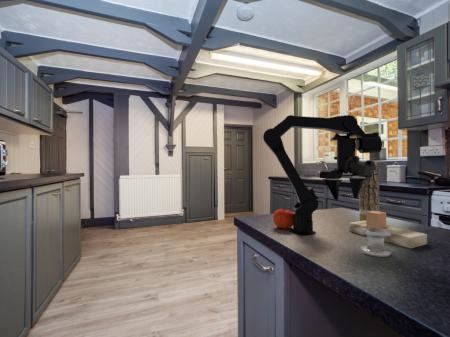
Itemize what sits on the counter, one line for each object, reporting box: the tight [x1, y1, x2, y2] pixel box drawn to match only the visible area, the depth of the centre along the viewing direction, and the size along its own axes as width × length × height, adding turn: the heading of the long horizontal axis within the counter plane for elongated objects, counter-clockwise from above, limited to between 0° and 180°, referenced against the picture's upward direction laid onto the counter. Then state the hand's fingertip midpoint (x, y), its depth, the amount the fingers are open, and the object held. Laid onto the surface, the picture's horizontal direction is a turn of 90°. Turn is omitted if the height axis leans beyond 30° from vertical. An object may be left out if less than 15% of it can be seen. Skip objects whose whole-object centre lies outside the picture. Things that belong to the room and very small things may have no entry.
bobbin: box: [360, 227, 392, 258], centre depth 67 cm, size 7×7×6 cm
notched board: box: [348, 220, 428, 249], centre depth 81 cm, size 20×8×3 cm, turn 24°
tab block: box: [366, 210, 387, 229], centre depth 82 cm, size 4×4×8 cm
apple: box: [272, 206, 294, 230], centre depth 94 cm, size 8×8×8 cm
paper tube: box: [358, 160, 380, 221], centre depth 98 cm, size 7×7×25 cm
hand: (346, 199), depth 84 cm, fingers open, 9 cm apart
